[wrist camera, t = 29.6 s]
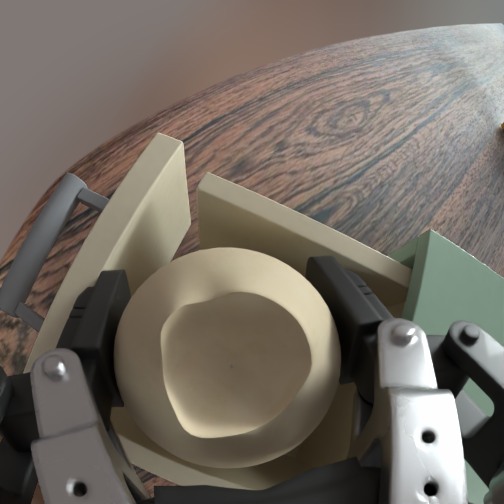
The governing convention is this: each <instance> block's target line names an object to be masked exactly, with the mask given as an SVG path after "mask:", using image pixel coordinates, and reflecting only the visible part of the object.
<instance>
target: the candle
mask: <svg viewBox="0 0 504 504" xmlns="http://www.w3.org/2000/svg"><path fill="white" fill-rule="evenodd" d="M113 356H114V371H115V377H116V382H117V386H118V389H119V392H120V395H121V398H122V400H123V402H124V404H125V406H126V408H127V410H128V412H129V413H130V415H131V416H132V418H133V419H134V421H135V422H136V424H137V425H138V426H139V427H140V428H141V430H142V431H143V432H144V433H145V434H146V435H147V436H148V437H149V438H150V439H151V440H153V441H154V442H155V443H156V444H157V445H159V446H160V447H162V448H163V449H165V450H166V451H168V452H169V453H171V454H173V455H175V456H177V457H179V458H181V459H183V460H186V461H189V462H192V463H195V464H198V465H202V466H207V467H213V468H227V469H230V468H244V467H249V466H254V465H259V464H262V463H265V462H268V461H271V460H273V459H275V458H278V457H280V456H282V455H284V454H286V453H287V452H289V451H290V450H292V449H293V448H295V447H296V446H298V445H299V444H300V443H301V442H302V441H304V440H305V439H306V438H307V437H308V436H309V435H310V434H311V433H312V432H313V431H314V430H315V429H316V427H317V426H318V425H319V424H320V422H321V421H322V419H323V418H324V416H325V415H326V413H327V411H328V409H329V407H330V405H331V403H332V401H333V399H334V396H335V393H336V390H337V387H338V382H339V377H340V370H341V346H340V341H339V336H338V331H337V328H336V325H335V322H334V319H333V317H332V315H331V313H330V310H329V308H328V306H327V305H326V303H325V302H324V300H323V298H322V297H321V295H320V294H319V293H318V291H317V290H316V289H315V288H314V287H313V286H312V284H311V283H310V282H309V281H308V280H307V279H305V278H304V277H303V276H302V275H301V274H300V273H299V272H297V271H296V270H294V269H293V268H292V267H290V266H289V265H287V264H285V263H283V262H282V261H280V260H278V259H276V258H274V257H271V256H269V255H266V254H263V253H260V252H256V251H252V250H248V249H240V248H212V249H205V250H200V251H196V252H193V253H189V254H187V255H184V256H182V257H179V258H177V259H175V260H173V261H171V262H169V263H168V264H166V265H164V266H163V267H161V268H160V269H158V270H157V271H156V272H155V273H153V274H152V275H151V276H150V277H149V278H148V279H147V280H146V281H145V282H144V283H143V284H142V285H141V286H140V287H139V288H138V289H137V291H136V292H135V293H134V295H133V296H132V297H131V299H130V301H129V302H128V304H127V306H126V308H125V310H124V312H123V314H122V317H121V319H120V322H119V325H118V328H117V332H116V337H115V343H114V354H113Z"/></svg>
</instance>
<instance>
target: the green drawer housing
mask: <svg viewBox="0 0 504 504" xmlns="http://www.w3.org/2000/svg"><path fill="white" fill-rule="evenodd" d="M387 257H389V258H391V259H393V260H395V261H397V262H399V263H401V264H402V265H404V266H406V267H408V268H410V269H412V270H413V271H412V276H411V280H410V285H409V289H408V293H407V297H406V301H405V305H404V309H403V313H402V317H401V318H402V319H406V320H409V321H412V322H413V323H415V324H417V325H418V326H419V327H420V328H421V329H422V330H423V331H424V333H425V335H446V334H447V332H448V330H449V327H450V325H451V324H452V323H453V322H455V321H459V320H463V321H469V322H472V323H474V324H476V325H478V326H479V327H480V328H482V329H483V330H484V331H485V332H486V333H488V334H489V335H490V336H491V337H492V338H493V339H494V340H496V341H497V342H498V343H499V344H500V345H501V346H502V347H504V278H503V277H501V276H500V275H499V274H497V273H496V272H494V271H493V270H492V269H490V268H489V267H487V266H486V265H485V264H483V263H482V262H480V261H479V260H477V259H476V258H475V257H473V256H472V255H470V254H469V253H467V252H466V251H464V250H463V249H461V248H460V247H458V246H457V245H455V244H454V243H452V242H450V241H449V240H447V239H446V238H444V237H443V236H441V235H439V234H438V233H436V232H435V231H433V230H431V229H429V230H428V231H426V232H424V233H423V234H421V235H420V236H419V237H417V238H415V239H414V240H412V241H410V242H409V243H407V244H406V245H404V246H402V247H401V248H399V249H398V250H396V251H394V252H393V253H391V254H389V255H388V256H387ZM462 390H463V391H464V392H465V393H466V394H467V395H468V396H469V397H470V398H471V399H472V400H473V401H474V402H475V404H476V405H477V406H478V407H479V408H480V409H481V410H482V411H483V412H484V413H485V414H486V415H487V416H489V417H491V416H492V415H493V412H494V404H493V402H492V400H491V399H490V398H489V397H488V396H487V395H486V394H485V393H484V392H483V391H482V390H481V389H480V388H479V387H478V386H477V385H476V384H475V383H474V382H473V381H472V380H471V378H469V379H468V381H467V383H466V384H465V386H464V387H463V389H462ZM464 461H465V470H466V481H467V496H468V502H470V503H473V504H484V502H483V499H484V496H485V494H486V493H488V492H489V489H488V487H487V486H486V485H485V484H484V482H483V481H482V480H481V479H480V477H479V476H478V475H477V474H476V472H475V471H474V470H473V469H472V468H471V466H470V465H469V464H468V463H467V461H466V460H465V459H464Z"/></svg>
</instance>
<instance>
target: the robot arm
mask: <svg viewBox="0 0 504 504" xmlns="http://www.w3.org/2000/svg"><path fill="white" fill-rule="evenodd" d="M305 279H307V280H308V281H309V282H310V283H311V284H312V286H313V287H314V288H315V289H316V290H317V291H318V293H319V294H320V295H321V297H322V298H323V300H324V302H325V303H326V305H327V306H328V308H329V310H330V313H331V315H332V317H333V319H334V322H335V325H336V328H337V331H338V336H339V341H340V346H341V370H340V377H339V383H340V385H342V384H346V383H351V382H354V383H355V385H356V387H357V388H356V390H355V393H354V397H353V414H352V427H351V439H350V447H349V451H348V455H347V457H346V460H342V461H339V462H335V463H332V464H328V465H324V466H320V467H316V468H312V469H309V470H307V471H305V472H303V473H301V474H299V475H297V476H295V477H293V478H290V479H288V480H286V481H284V482H281V483H279V484H277V485H274V486H272V487H270V488H267V489H264V490H246V489H235V488H226V487H218V486H210V485H191V486H154V497H153V498H151V496H150V495H149V493H148V491H147V490H146V488H145V487H144V485H143V484H142V482H141V481H140V479H139V477H138V476H137V474H136V472H135V470H134V468H133V466H132V464H131V462H130V460H129V458H128V456H127V454H126V452H125V450H124V447H123V445H122V443H121V441H120V439H119V436H118V434H117V432H116V429H115V427H114V425H113V423H112V421H111V419H110V416H111V409H112V407H124V402H123V400H122V398H121V395H120V392H119V389H118V386H117V382H116V377H115V371H114V356H113V354H114V343H115V337H116V332H117V328H118V325H119V322H120V319H121V317H122V314H123V312H124V310H125V308H126V306H127V304H128V302H129V301H130V299H131V293H130V288H129V284H128V279H127V275H126V272H125V270H124V269H122V270H105V271H101V273H100V275H99V277H98V279H97V282H96V284H95V286H94V287H87V288H86V289H85V290H84V291H83V292H82V293H81V294H80V295H79V296H78V297H77V299H76V301H75V303H74V306H73V309H72V310H71V312H70V315H69V318H68V319H67V322H66V324H65V326H64V329H63V331H62V333H61V336H60V338H59V341H58V343H57V346H56V348H55V349H52V350H49V351H47V352H45V353H43V354H42V355H40V356H39V357H38V358H37V359H36V360H35V361H34V363H33V365H32V367H31V371H30V372H28V373H23V374H18V375H14V376H9V377H8V376H7V375H6V373H5V372H4V370H3V369H2V367H1V366H0V435H1V436H2V437H3V439H2V441H1V443H0V504H31V501H32V498H33V495H34V491H35V488H36V485H37V482H38V481H39V485H40V488H41V492H42V495H43V498H44V502H45V504H473V503H470V502H468V496H467V481H466V470H465V461H464V459H465V460H466V461H467V463H468V464H469V465H470V466H471V468H472V469H473V470H474V471H475V472H476V474H477V475H478V476H479V477H480V479H481V480H482V481H483V482H484V484H485V485H486V486H487V487H488V489H489V492H488V493H486V494H485V496H484V499H483V502H484V504H504V347H502V346H501V345H500V344H499V343H498V342H497V341H496V340H494V339H493V338H492V337H491V336H490V335H489V334H488V333H486V332H485V331H484V330H483V329H482V328H480V327H479V326H478V325H476V324H474V323H472V322H469V321H463V320H459V321H455V322H453V323H452V324H451V325H450V327H449V330H448V332H447V334H446V335H425V333H424V331H423V330H422V329H421V328H420V327H419V326H418V325H417V324H415V323H413V322H412V321H409V320H406V319H402V318H394V317H393V316H392V315H391V314H390V312H389V311H388V310H387V309H386V307H385V306H384V305H383V304H382V303H381V301H380V300H379V299H378V298H377V297H376V295H375V294H373V292H372V291H371V289H370V288H369V287H367V286H366V283H365V282H364V281H363V280H362V279H361V278H360V276H359V275H357V274H355V273H354V272H352V271H350V270H349V269H347V268H345V269H343V268H342V267H341V266H340V264H339V263H338V262H337V261H336V260H335V258H334V257H333V256H331V255H328V256H315V257H309V258H308V260H307V266H306V274H305ZM469 378H471V380H472V381H473V382H474V383H475V384H476V385H477V386H478V387H479V388H480V389H481V390H482V391H483V392H484V393H485V394H486V395H487V396H488V397H489V398H490V399H491V400H492V402H493V404H494V412H493V415H492V416H491V417H489V416H487V415H486V414H485V413H484V412H483V411H482V410H481V409H480V408H479V407H478V406H477V405H476V404H475V402H474V401H473V400H472V399H471V398H470V397H469V396H468V395H467V394H466V393H465V392H464V391H463V390H462V389H463V387H464V386H465V384H466V383H467V381H468V379H469Z"/></svg>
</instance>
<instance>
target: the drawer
mask: <svg viewBox="0 0 504 504" xmlns="http://www.w3.org/2000/svg"><path fill="white" fill-rule="evenodd" d="M79 202H81V203H82V204H84V205H86V206H88V207H90V208H92V209H94V210H96V211H98V212H100V213H101V214H100V216H99V217H98V219H97V221H96V222H95V224H94V226H93V227H92V229H91V231H90V232H89V234H88V236H87V237H86V239H85V241H84V243H83V244H82V246H81V248H80V250H79V252H78V253H77V255H76V257H75V259H74V261H73V263H72V264H71V266H70V268H69V270H68V272H67V274H66V276H65V278H64V280H63V282H62V284H61V286H60V288H59V290H58V292H57V294H56V296H55V298H54V300H53V302H52V304H51V306H50V309H49V311H48V313H47V315H46V317H45V318H43V317H42V316H41V315H39V314H38V313H37V312H35V311H34V310H33V309H31V308H30V307H29V306H27V305H26V304H25V301H26V299H27V297H28V295H29V293H30V291H31V288H32V286H33V284H34V282H35V280H36V278H37V276H38V274H39V272H40V270H41V268H42V266H43V264H44V262H45V260H46V259H47V257H48V255H49V253H50V251H51V249H52V248H53V246H54V244H55V242H56V240H57V239H58V237H59V235H60V233H61V232H62V230H63V228H64V227H65V225H66V223H67V222H68V220H69V218H70V217H71V215H72V213H73V212H74V210H75V209H76V207H77V205H78V204H79ZM197 209H198V227H199V243H200V249H199V251H200V250H205V249H212V248H240V249H248V250H252V251H256V252H260V253H263V254H266V255H269V256H271V257H274V258H276V259H278V260H280V261H282V262H283V263H285V264H287V265H289V266H290V267H292V268H293V269H294V270H296V271H297V272H299V273H300V274H301V275H302V276H303V277H304V278H305V274H306V266H307V260H308V258H309V257H315V256H328V255H331V256H333V257H334V258H335V260H336V261H337V262H338V263H339V264H340V266H341V267H342V268H343V269H345V268H347V269H349V270H350V271H352V272H354V273H355V274H357V275H359V276H360V278H361V279H362V280H363V281H364V282H365V283H366V286H367V287H369V288H370V289H371V291H372V292H373V294H375V295H376V297H377V298H378V299H379V300H380V301H381V303H382V304H383V305H384V306H385V307H386V309H387V310H388V311H389V312H390V314H391V315H392V316H393V317H394V318H401V317H402V313H403V309H404V305H405V301H406V297H407V293H408V289H409V285H410V280H411V276H412V271H413V270H412V269H410V268H408V267H406V266H404V265H402V264H401V263H399V262H397V261H395V260H393V259H391V258H389V257H387V256H385V255H383V254H382V253H380V252H378V251H376V250H374V249H372V248H370V247H368V246H366V245H364V244H362V243H360V242H358V241H356V240H354V239H352V238H350V237H348V236H346V235H344V234H342V233H340V232H338V231H336V230H334V229H332V228H330V227H328V226H326V225H324V224H322V223H320V222H318V221H316V220H313V219H311V218H309V217H307V216H305V215H303V214H301V213H299V212H297V211H294V210H292V209H290V208H288V207H286V206H284V205H281V204H279V203H277V202H275V201H273V200H271V199H268V198H266V197H264V196H262V195H259V194H257V193H255V192H253V191H251V190H248V189H246V188H244V187H241V186H239V185H237V184H235V183H232V182H230V181H228V180H225V179H223V178H221V177H218V176H216V175H214V174H211V173H209V172H206V173H205V175H204V176H203V178H202V180H201V181H200V183H199V185H198V186H197ZM190 225H191V220H190V210H189V201H188V191H187V180H186V169H185V158H184V145H183V142H182V141H180V140H177V139H175V138H172V137H169V136H167V135H164V134H161V133H157V134H156V135H155V136H154V138H153V139H152V140H151V141H150V143H149V144H148V145H147V147H146V148H145V149H144V151H143V152H142V154H141V155H140V156H139V158H138V159H137V160H136V162H135V163H134V165H133V166H132V167H131V169H130V170H129V172H128V173H127V175H126V176H125V177H124V179H123V180H122V182H121V183H120V185H119V186H118V188H117V189H116V191H115V192H114V194H113V195H112V197H111V198H110V199H108V198H105V197H103V196H101V195H99V194H97V193H95V192H93V191H91V190H89V189H88V187H87V185H86V184H85V183H84V182H83V181H82V180H81V179H80V178H78V177H77V176H75V175H73V174H71V173H66V175H65V176H64V177H63V179H62V180H61V182H60V183H59V185H58V186H57V188H56V189H55V191H54V192H53V194H52V195H51V197H50V198H49V200H48V201H47V203H46V205H45V206H44V208H43V209H42V211H41V213H40V214H39V216H38V218H37V219H36V221H35V223H34V224H33V226H32V228H31V230H30V231H29V233H28V235H27V237H26V238H25V240H24V242H23V244H22V246H21V248H20V250H19V251H18V253H17V255H16V257H15V259H14V261H13V263H12V265H11V267H10V269H9V271H8V273H7V275H6V278H5V280H4V282H3V284H2V286H1V289H0V309H1V310H2V311H4V312H5V313H7V314H8V315H10V316H13V317H16V318H18V317H20V318H21V319H22V320H23V321H25V322H26V323H27V324H28V325H30V326H31V327H32V328H33V329H35V330H36V331H37V332H39V334H38V336H37V338H36V341H35V343H34V346H33V348H32V351H31V353H30V356H29V359H28V361H27V364H26V367H25V369H24V372H23V373H28V372H30V371H31V367H32V365H33V363H34V361H35V360H36V359H37V358H38V357H39V356H40V355H42V354H43V353H45V352H47V351H49V350H52V349H55V348H56V346H57V343H58V341H59V338H60V336H61V333H62V331H63V329H64V326H65V324H66V322H67V319H68V318H69V315H70V312H71V310H72V309H73V306H74V303H75V301H76V299H77V297H78V296H79V295H80V294H81V293H82V292H83V291H84V290H85V289H86V288H87V287H94V286H95V284H96V282H97V279H98V277H99V275H100V273H101V271H105V270H122V269H124V270H125V272H126V275H127V279H128V284H129V288H130V293H131V297H132V296H133V295H134V293H135V292H136V291H137V289H138V288H139V287H140V286H141V285H142V284H143V283H144V282H145V281H146V280H147V279H148V278H149V277H150V276H151V275H152V274H153V273H155V272H156V271H157V270H158V269H160V268H161V267H163V266H164V265H166V264H168V263H169V262H171V260H172V258H173V256H174V254H175V252H176V251H177V249H178V247H179V245H180V243H181V241H182V239H183V238H184V236H185V234H186V232H187V230H188V229H189V227H190ZM356 388H357V387H356V385H355V383H354V382H351V383H346V384H342V385H340V383H339V382H338V387H337V390H336V393H335V396H334V399H333V401H332V403H331V405H330V407H329V409H328V411H327V413H326V415H325V416H324V418H323V419H322V421H321V422H320V424H319V425H318V426H317V427H316V429H315V430H314V431H313V432H312V433H311V434H310V435H309V436H308V437H307V438H306V439H305V440H304V441H302V442H301V443H300V444H299V445H298V446H296V447H295V448H293V449H292V450H290V451H289V452H287V453H286V454H284V455H282V456H280V457H278V458H275V459H273V460H271V461H268V462H265V463H262V464H259V465H254V466H249V467H244V468H230V469H227V468H213V467H207V466H202V465H198V464H195V463H192V462H189V461H186V460H183V459H181V458H179V457H177V456H175V455H173V454H171V453H169V452H168V451H166V450H165V449H163V448H162V447H160V446H159V445H157V444H156V443H155V442H154V441H153V440H151V439H150V438H149V437H148V436H147V435H146V434H145V433H144V432H143V431H142V430H141V428H140V427H139V426H138V425H137V424H136V422H135V421H134V419H133V418H132V416H131V415H130V413H129V412H128V410H127V408H126V406H125V404H124V407H112V409H111V416H110V419H111V421H112V423H113V425H114V427H115V429H116V432H117V434H118V436H119V439H120V441H121V443H122V445H123V447H124V450H125V452H126V454H127V456H128V458H129V460H130V462H131V463H132V464H134V465H136V466H138V467H140V468H142V469H144V470H146V471H148V472H151V473H153V474H155V475H157V476H159V477H162V478H164V479H166V480H169V481H171V482H173V483H176V484H178V485H181V486H191V485H210V486H218V487H226V488H235V489H246V490H264V489H267V488H270V487H272V486H274V485H277V484H279V483H281V482H284V481H286V480H288V479H290V478H293V477H295V476H297V475H299V474H301V473H303V472H305V471H307V470H309V469H312V468H316V467H320V466H324V465H328V464H332V463H335V462H339V461H342V460H346V457H347V455H348V451H349V447H350V439H351V427H352V414H353V397H354V393H355V390H356Z"/></svg>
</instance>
